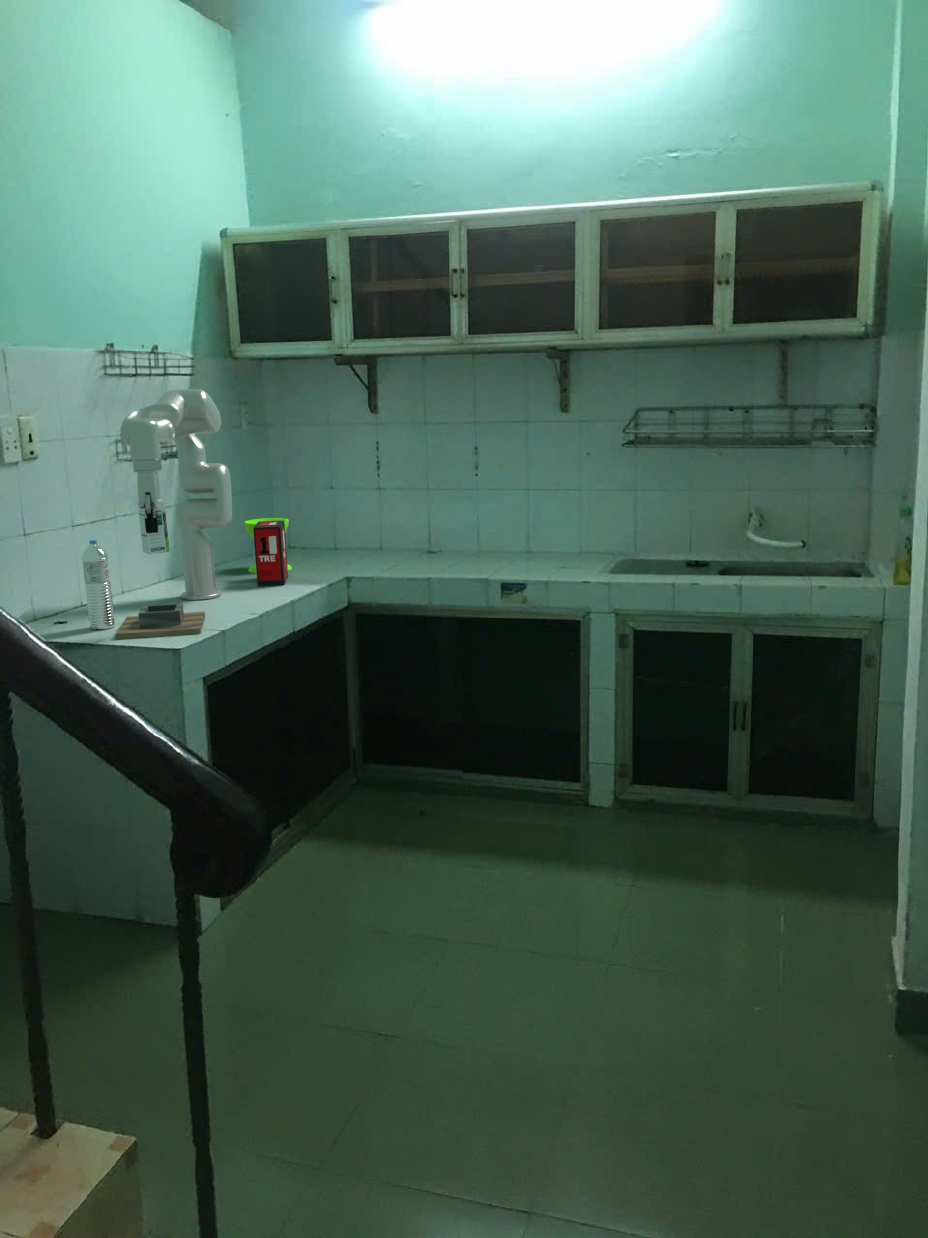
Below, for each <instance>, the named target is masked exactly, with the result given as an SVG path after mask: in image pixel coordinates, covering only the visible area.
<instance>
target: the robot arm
mask: <svg viewBox="0 0 928 1238" xmlns="http://www.w3.org/2000/svg"><path fill="white" fill-rule="evenodd" d="M221 427H222V417H221V413H220V411H219V409H218V407H217V406H216V404H215V402H214V400H213V398H211V396H210V395H209V394H208V392H207V391H205V390H203V389H201V388H189V389H184V388H183V389H171V390H168V391H166V392H165V393H164V394H163V395H161V396H160V399H159V400H157V402H156V403H154V404H151V405H148V406H144V407H142V408H139V409H136V410H133V411H131V412H129V414H127V415H126V417H125V418H124V419H123V420H122V422H121V425H120V429H119V430H120V431H119V432H120V437H121V439H122V440H121V441H123V443H125V445H127V446H130V450H131V459H132V469H133V473H137V474H136V475H137V477H136V478H137V480H136V481H137V482H136V483H137V495H138V501H139V508H140V509H142V507H145V528H146V533H157V532H158V523H157V518H156V508H157V507H158V501H159V499H161V489H160V479H159V472H162V471H163V466H162V465H163V464H162V455H161V454H162V453H161V446H167V445H170V444H171V443H172V442H174V444H175V446H176V451H177V461H178V463H177V464H178V465H177V466H178V483H179V488H180V490H181V492H183V493H184V494H189V495H202V494H203V495H210V494H212V495H213V494H214V495H215V497H195V498H194V497H190V498H184V499H181V500H180V501H179V502H177V504H176V505H175V508H174V510H175V511H174V512H175V513H174V514H175V518H176V521H177V522H176V523H177V525H178V529H179V535H180V544H181V554H182V555H181V556H182V563H183V564H182V565H183V566H182V567H183V576H184V588H185V591H184V592H182V593H180V597H181V599H183V600H192V601H198V600H199V601H200V600H208V599H214V598H218V597H221V596H222V591H221V590H219V589H217V587H216V585H217V584H216V576H215V574H216V573H215V561H214V551H213V550H214V549H213V541H212V539H211V537H210V536H209V535H208V533H207V532H206V530H204V529H222V528H228V527H229V526H230V525H231V524H232V522H233V499H232V498H233V496H232V495H233V493H232V477H231V473H230V470H229V468H228V466H227V465H225V464H223V463H218V462H217V463H216V462H215V463H213V462H212V463H207V460H206V459H207V456H206V455H207V454H206V447H205V445H204V443H203V442H202V441H201V440H200V438H199V437H198V436H197V435H211V434H217V432H219V431H220V429H221ZM144 503H145V504H144Z"/></svg>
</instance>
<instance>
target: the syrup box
mask: <svg viewBox="0 0 928 1238" xmlns="http://www.w3.org/2000/svg"><path fill="white" fill-rule="evenodd" d="M144 504H145V503H144ZM165 504H166V503H165V500H164V499H162V498H160V499H159V501H158V507H157V508H156V518H157V523H158V532H157V533H146V528H145V507H142V509H140V508H139V500H137V510H138V518H139V527H140V537H141V544H142V545H141V547H142V552H143V553H145V554H148V555H152V554H153V555H154V554H160V553H170V545H169V544H170V543H169V532H168V524H167V516H166V515H167V511H166V505H165Z"/></svg>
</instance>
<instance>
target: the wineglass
mask: <svg viewBox="0 0 928 1238" xmlns="http://www.w3.org/2000/svg"><path fill="white" fill-rule="evenodd" d="M259 521H284V523H285V533H287V531H288V530H287V529H288V527H289V521H290V520H289V519H288V518H284V517H283V518H281V517H268V518H267V517H266V518H255V519H248V520H245V521H244V527H245V530H246V532H247V533H248V534H249V536H250V537H251V538H253V539H254V531H253V528H254V526H255V525H256V524H257V523H258V522H259ZM287 567H288V571H291V570H292V569H293V567H292V566H291V565H290V564H288V563H287ZM247 572H249V573H250V574H251V573H252V574H257V571H256V564H255V565H252V566H250V567H249V568H248V570H247Z"/></svg>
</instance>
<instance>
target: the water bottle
mask: <svg viewBox="0 0 928 1238" xmlns="http://www.w3.org/2000/svg"><path fill="white" fill-rule="evenodd" d="M97 543H98V542H97V539H91V540H89V545H90V546H89V545H88V547H87V548H86V549H85V550H84V551H83V553H82V554H81V561H82V566H83V567H82V568H83V575H84V576H83V577H84V586H85V596H86V599H85V600H86V604H87V607H86V608H87V615H88V623H89V627H90V629H91V630H93V629H95V630H94V631H97V630H96V629H99V630H98V631H101V630H100V629H104V630H107V629H109V628H110V629H113V628H114V627H115V626H116V625H115V624H116V623H115V622H116V621H115V613H114V612H115V611H114V602H113V595H112V585H111V584H112V583H111V579H110V570H109V557H108V553H107V552H106V550H104V549H103V548H102V547H101V546H99V545H97Z"/></svg>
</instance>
